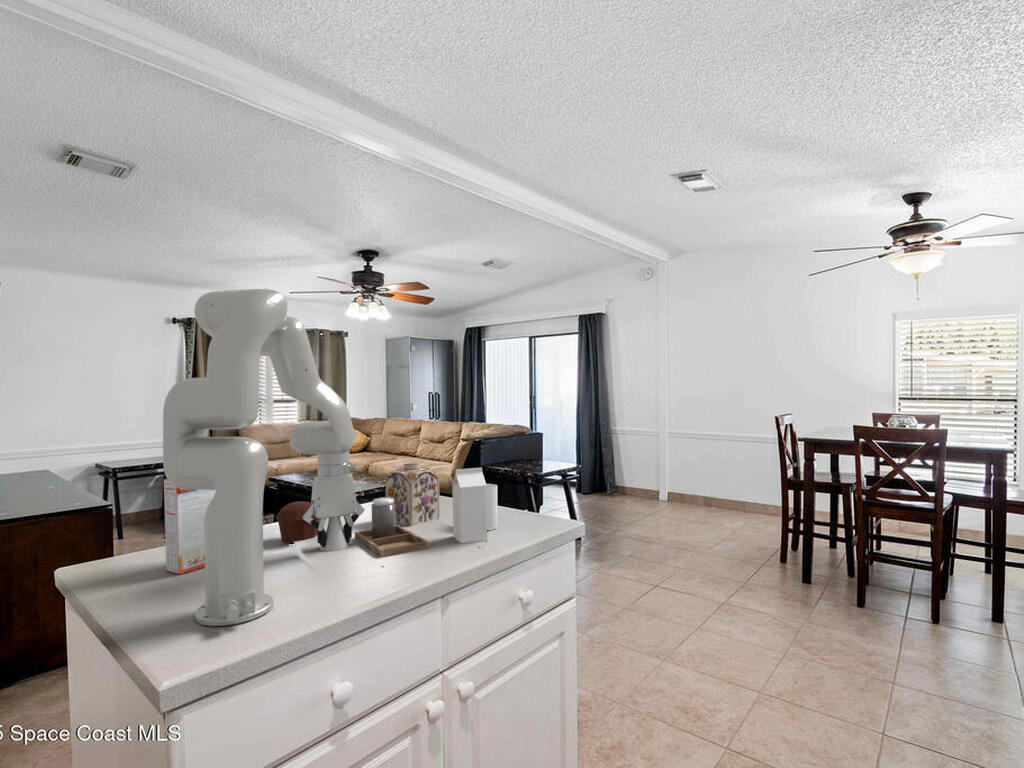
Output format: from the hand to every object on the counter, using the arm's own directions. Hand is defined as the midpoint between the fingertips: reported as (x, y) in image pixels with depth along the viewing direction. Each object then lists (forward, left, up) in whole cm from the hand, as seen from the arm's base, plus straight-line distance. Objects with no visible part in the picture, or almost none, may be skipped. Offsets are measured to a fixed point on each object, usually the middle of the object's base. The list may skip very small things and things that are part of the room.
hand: (334, 543), depth 134 cm
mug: (-2, -41, -2) cm, 41 cm away
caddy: (-5, -12, -2) cm, 14 cm away
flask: (0, 0, -2) cm, 2 cm away
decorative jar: (+15, -27, -2) cm, 31 cm away
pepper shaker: (0, -12, -1) cm, 13 cm away
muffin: (+16, +5, -2) cm, 17 cm away
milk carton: (-13, -31, -2) cm, 34 cm away
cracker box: (+8, +28, -2) cm, 29 cm away
